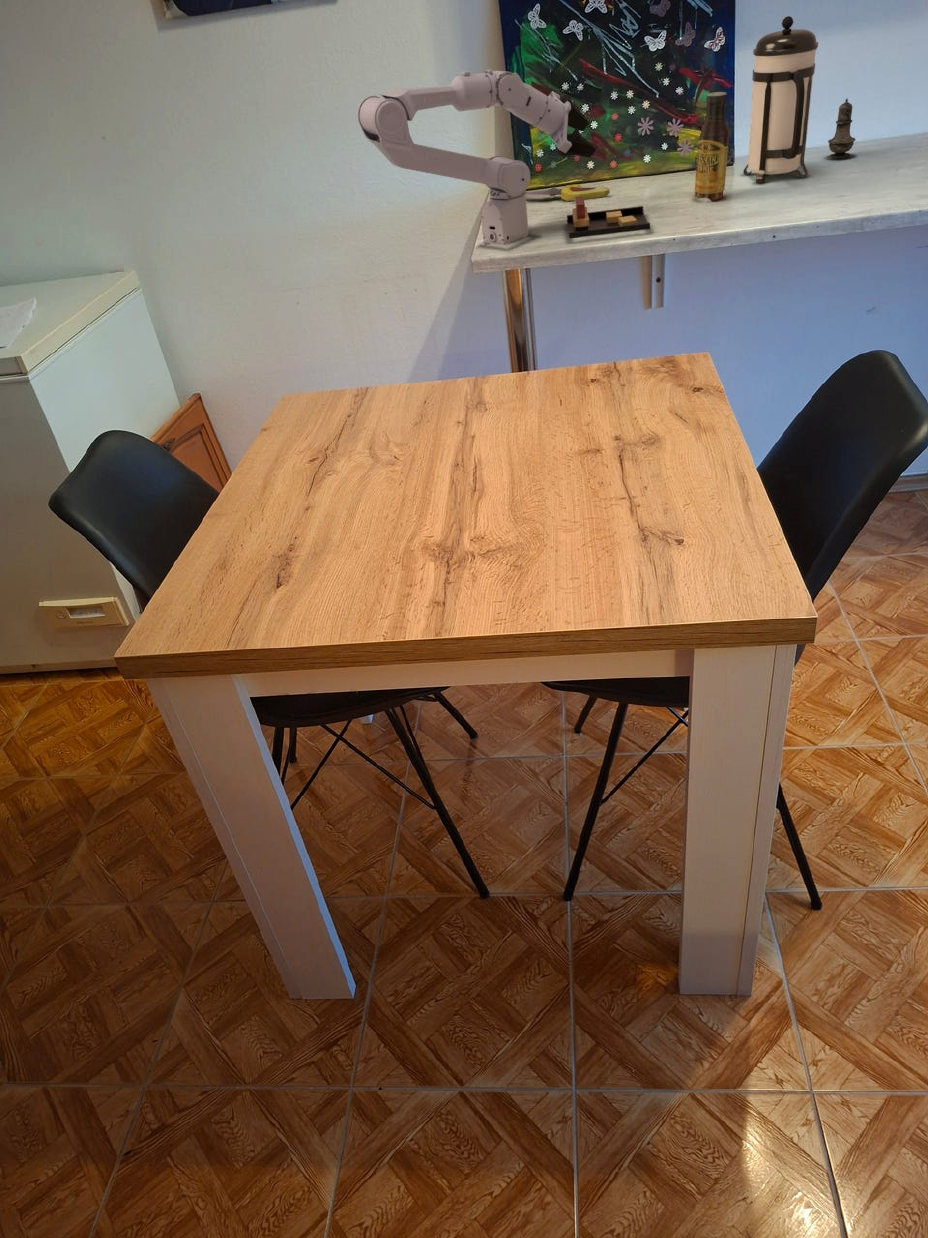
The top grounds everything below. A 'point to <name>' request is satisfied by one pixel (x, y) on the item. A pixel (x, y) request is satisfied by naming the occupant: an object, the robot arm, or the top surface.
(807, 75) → the coffee press
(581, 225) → the brush
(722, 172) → the brown glass bottle
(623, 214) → the tray
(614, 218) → the cracker piece
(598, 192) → the yellow scissors
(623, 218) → the cracker piece
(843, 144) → the salt shaker
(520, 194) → the robot arm
